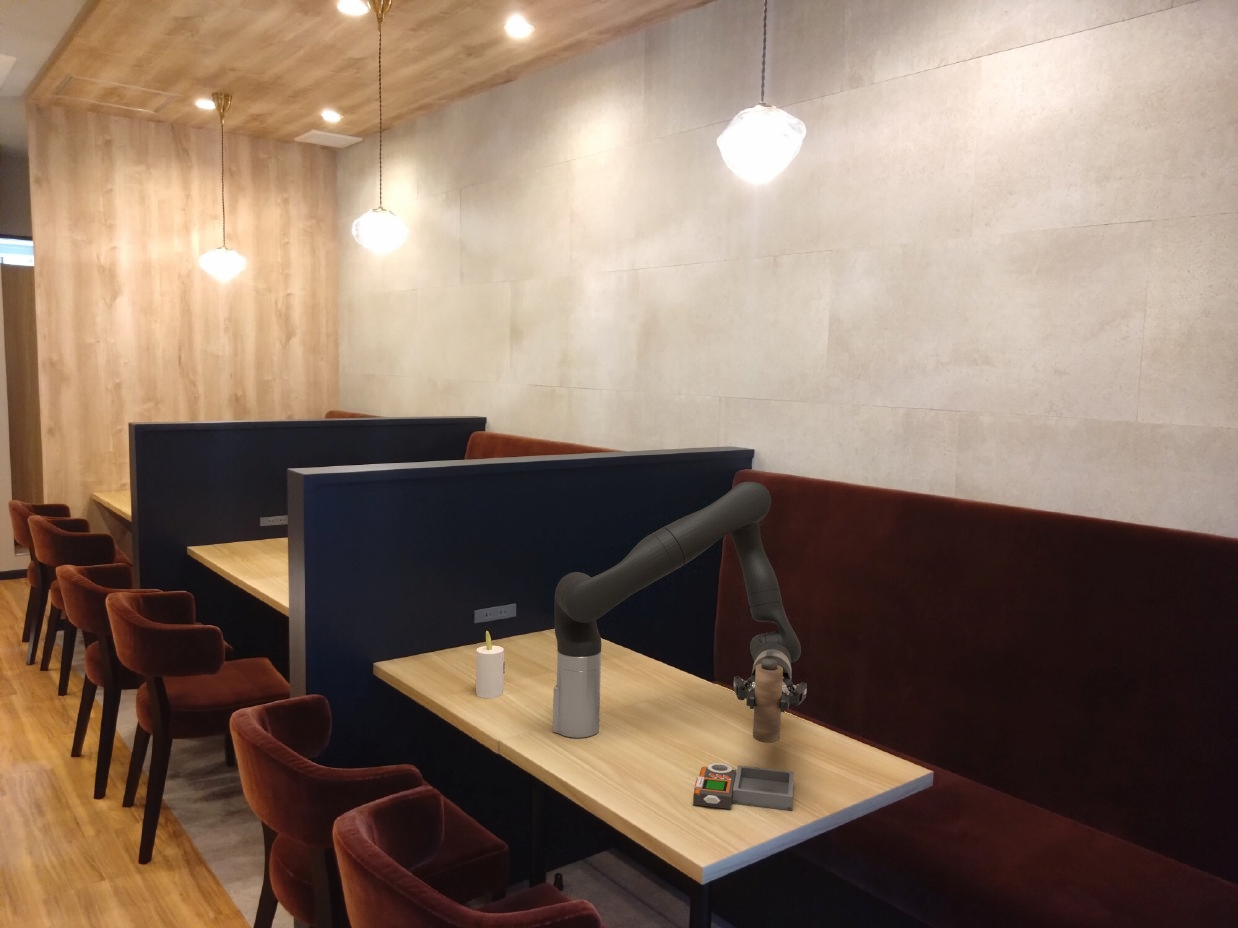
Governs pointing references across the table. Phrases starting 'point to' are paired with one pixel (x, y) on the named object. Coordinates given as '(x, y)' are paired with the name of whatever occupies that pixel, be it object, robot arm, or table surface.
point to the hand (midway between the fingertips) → (767, 705)
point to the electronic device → (715, 786)
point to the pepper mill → (767, 701)
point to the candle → (489, 670)
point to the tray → (763, 787)
